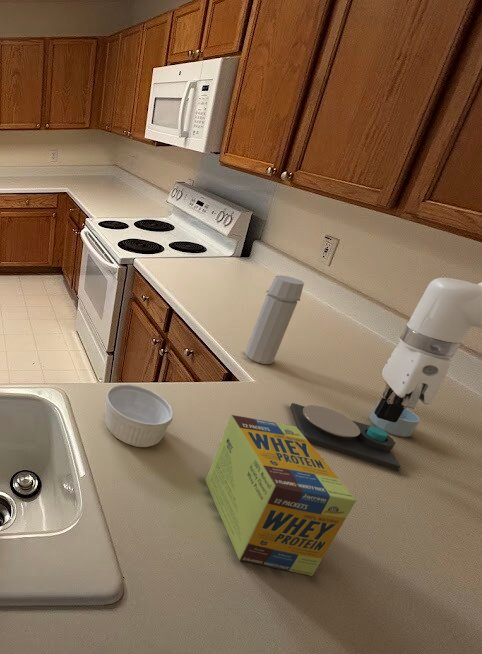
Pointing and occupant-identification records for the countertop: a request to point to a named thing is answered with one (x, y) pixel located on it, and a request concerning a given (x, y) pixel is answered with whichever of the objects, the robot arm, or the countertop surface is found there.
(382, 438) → the tare button
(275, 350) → the water bottle
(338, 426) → the scale plate
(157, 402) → the ramekin
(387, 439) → the scale
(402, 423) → the bowl
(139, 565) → the countertop surface
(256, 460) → the protein box
